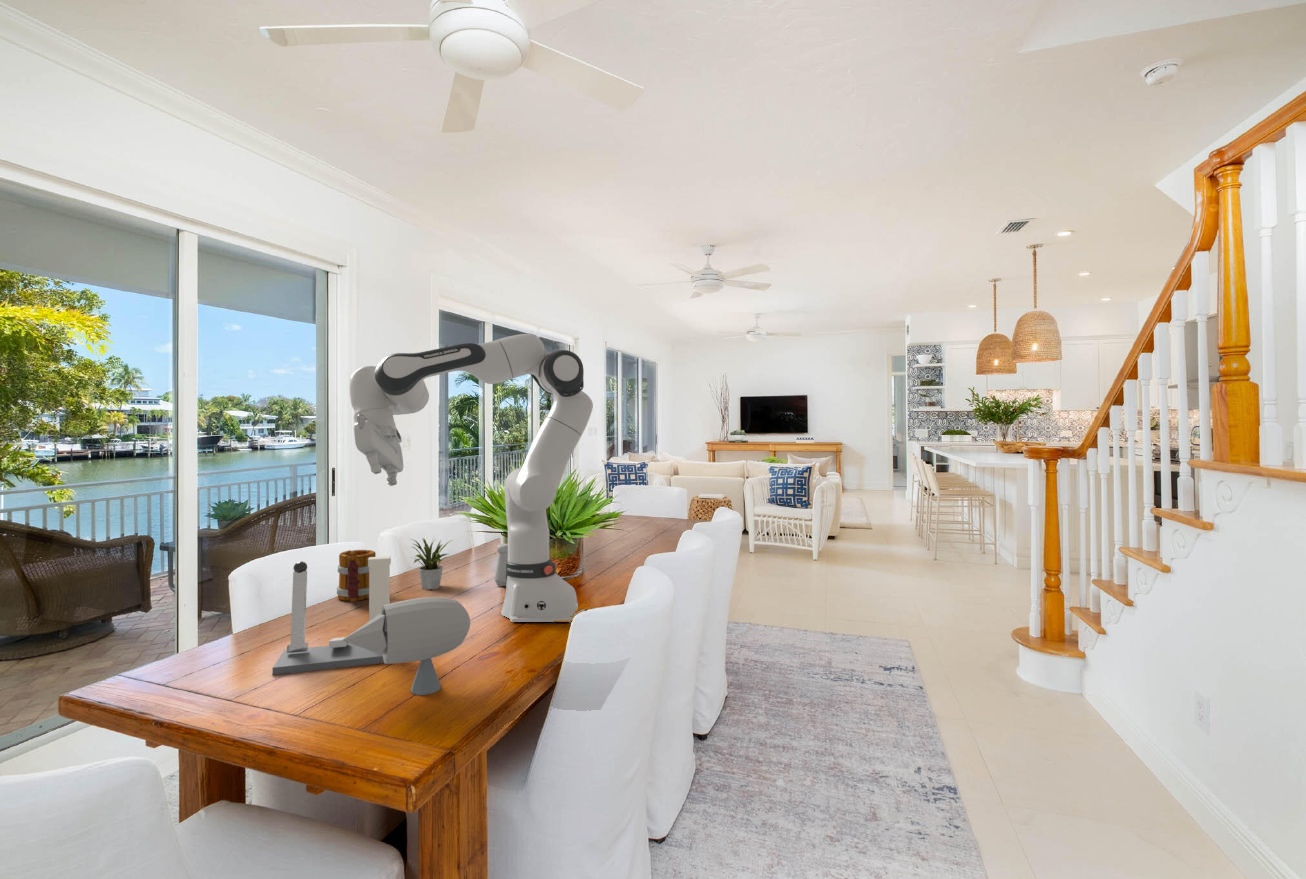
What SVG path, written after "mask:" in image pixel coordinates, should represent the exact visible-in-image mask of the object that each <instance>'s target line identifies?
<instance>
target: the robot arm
mask: <svg viewBox="0 0 1306 879" xmlns="http://www.w3.org/2000/svg"><path fill="white" fill-rule="evenodd" d="M456 371H457V372H459V371H460V372H466V373H469V375H472V376H473V377H475V378H476V379H477V380H479V381H480V382H482V383H485V384H488V385H494V384H500V383H504V382H508V381H511V380H513V379H516V378H518V377H522V376H525V375H530V376H531V377H532V379H533V380H534V381H535V382H536V384H537V386H538V387H539V388H540V389H541V390H542V391H544V393H547V394H549V395H552V396H553V401H552V405H551V407H550V409H549V411H548V413H547V414H546V416H545V418H544V420H543V421H542V423H541V426H540V427H539V429H538V430H537V432H536V434H535V435H534V437H533V440H532V441H531V444H530V447H529V451H528V453H527V455H526V458H525V460H524V463H523V465H522V467H518V468H516V469H513V470H512V471H511V472H510V473H509V474H508V475H507V477H506V479H505V481H504V500H505V501H504V503H505V515H506V517H505V518H506V524H507V526H506V527H507V544H508V560H507V561H506V581H507V585H506V587H505V594H504V601H503V605H502V608H501V611H500V614H501V616H502V617H504V616H505V617H504V618H506V617H507V619H508V618H509V619H510V620H509V619H508V620H509V621H510V622H511V623H514V622H554V621H566V620H567V621H569V623H572V622H571V620H572V619H573V617H574V616H575V615H577V613H580V611H584V610H585V611H586V608H585V609H582V610H580V611H578V612H577V613H575V611H577V609H578V604H579V603H578V598H577V593H576V590H575V587H574V586H572V585H571V584H569V583H568V582H567V581H566V580H564V579H563V578H562V577H561V576H560V575H559V574H557V573H556V572H557V568H556V567H558V561H555V562H554V561H552V560H551V558H550V528H549V523H548V515H547V509H548V508H549V507H551V505H552V504H554V501H555V499H556V496H557V491H558V489H559V486H560V483H561V481H562V478H563V476H564V473H565V469H566V467H567V465H568V461H569V459H570V458H571V456H572V454H573V453H574V450H575V448H576V447H577V445H578V444H579V441H580V439H581V438H582V436H583V434H584V432H585V430H586V428H587V426H588V423H589V421H590V417H591V415H592V412H593V408H594V403H593V400H592V398H591V397H590V396H589V395H588V394H587V393H586V392H584V391H583V389H584V388H585V384H584V374H585V373H584V364H583V361H582V360H581V358H580V356H579V355H577V354H576V353H575V352H573V351H570V350H567V349H558V350H555V351H553V352H549V351H548V350H547V349H546V348H545V345H544V342H543V340H541V339H540V337H539V336H537V335H536V334H534V333H520V334H514V335H509V336H505V337H502V338H498V339H495V340H492V341H488V342H483V343H482V342H481V343H472V342H468V343H467V342H465V343H461V344H455V345H450V346H445V347H441V348H435V349H431V350H426V351H420V352H415V353H413V352H409V353H408V352H407V353H406V352H405V353H404V352H395V353H391V354H389V355H386V356H385V357H383V358H381V360H380V361H379V362H378V363H377V365H376V366H374V365H368V366H364V367H360V368H358V369H356V370H355V371H353V373H352V374H351V376H350V379H349V396H350V397H349V398H350V403H351V406H352V409H353V410H354V415H353V420H354V421H353V422H354V424H353V432H354V434H353V435H354V442H355V446H356V448H357V450H358V451H359V452H360V453H362V454H363V455H364V456H365V457H366V460H367V462H368V464H369V466H370V471H371V473H373V474H374V475H378V474H381V473H382V470H383V471H384V472H386V475H387V477H386V481H387V482H386V483H387V484H388V485H389V486H390V487H393V486H395V485H397V484H398V481H397V480H398V479H397V476H398V473H401V472H403V471H404V459H403V458H404V457H403V452H402V450H403V449H402V447H401V444H400V443H402V442H403V439H402V436H401V434H400V433H399V430H398V429H397V427H396V422H395V418H394V416H395V415H396V416H399V415H410V414H415V413H418V412H420V411H421V410H422V409H424V408H425V407H426V405H428V402H429V400H430V399H429V398H430V395H429V394H430V393H429V390H428V388H427V386H426V383H425V379H427V378H430V377H436V376H439V375H443V374H448V373H453V372H456ZM573 613H574V615H573ZM570 616H572V617H570Z"/></svg>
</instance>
